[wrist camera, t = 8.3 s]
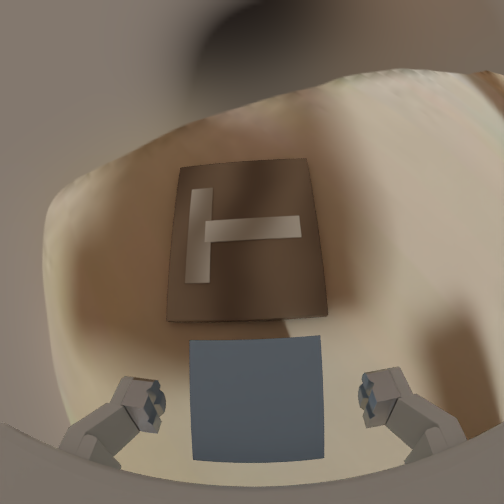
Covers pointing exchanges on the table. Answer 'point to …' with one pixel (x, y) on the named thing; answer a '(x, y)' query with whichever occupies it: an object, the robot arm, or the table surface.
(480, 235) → the table surface
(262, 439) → the slate block
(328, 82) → the table surface
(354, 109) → the table surface
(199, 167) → the letter card
